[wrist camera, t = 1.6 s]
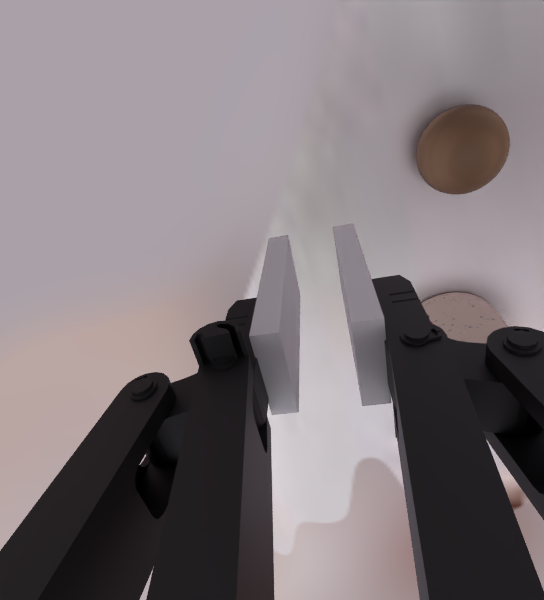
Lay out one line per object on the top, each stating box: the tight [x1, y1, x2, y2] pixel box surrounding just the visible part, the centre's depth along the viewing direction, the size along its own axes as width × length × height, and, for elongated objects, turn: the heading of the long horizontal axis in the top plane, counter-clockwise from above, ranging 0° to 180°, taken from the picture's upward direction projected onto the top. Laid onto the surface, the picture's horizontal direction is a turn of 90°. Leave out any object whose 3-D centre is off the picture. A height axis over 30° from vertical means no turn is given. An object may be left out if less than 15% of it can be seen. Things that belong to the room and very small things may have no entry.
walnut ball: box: [416, 105, 510, 194], centre depth 26 cm, size 6×6×6 cm
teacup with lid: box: [421, 292, 508, 443], centre depth 32 cm, size 12×9×12 cm
